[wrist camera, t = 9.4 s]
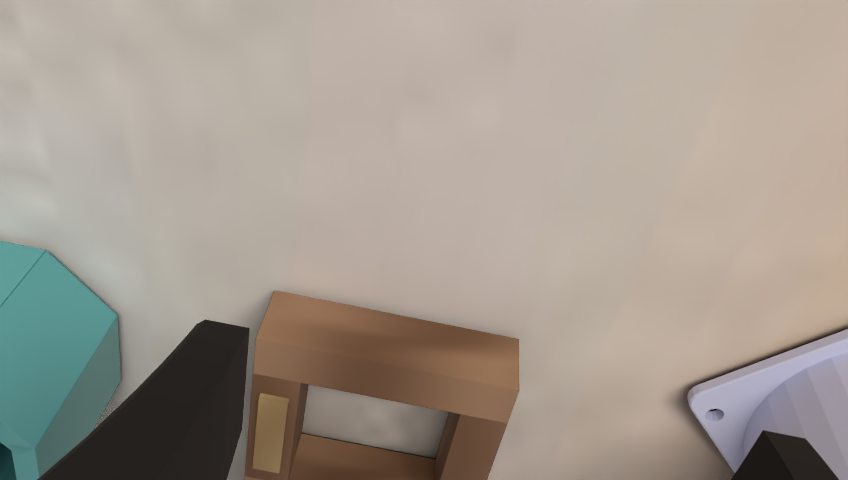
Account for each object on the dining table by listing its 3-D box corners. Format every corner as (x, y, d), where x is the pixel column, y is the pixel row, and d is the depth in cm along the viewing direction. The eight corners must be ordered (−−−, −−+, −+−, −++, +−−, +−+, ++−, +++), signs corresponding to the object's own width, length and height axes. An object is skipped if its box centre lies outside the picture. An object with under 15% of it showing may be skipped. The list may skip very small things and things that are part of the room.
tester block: (518, 339, 23) (519, 396, 21) (466, 491, 27) (463, 550, 25) (274, 290, 22) (253, 343, 21) (258, 451, 27) (240, 508, 25)
